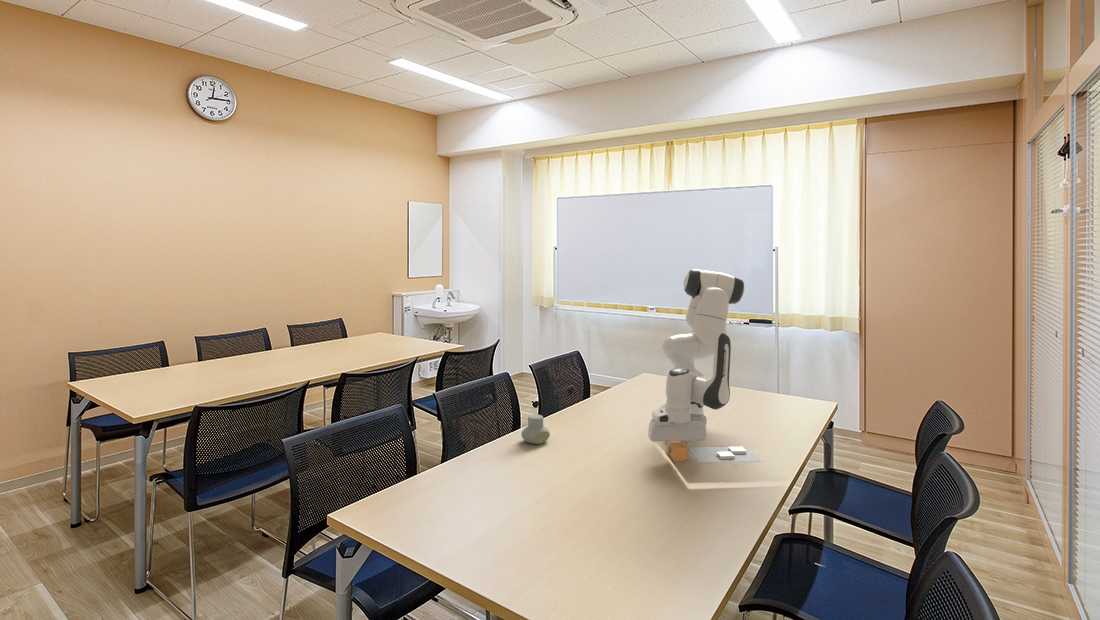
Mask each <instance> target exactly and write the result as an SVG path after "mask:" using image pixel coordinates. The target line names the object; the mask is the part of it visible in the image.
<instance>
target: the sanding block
mask: <svg viewBox="0 0 1100 620" xmlns="http://www.w3.org/2000/svg"><path fill="white" fill-rule="evenodd" d="M685 444H686V443H684V441H669V442H668V444H667V445H668V447H670V448H671V453H668V454H666V456H667V457H668V459H669V460H670V461H671V463H672V464H673V465H675V463H674V462H673V461H675V462H676V461H688V452H687V447H686V446H685ZM670 457H671V458H670ZM672 460H673V461H672Z"/></svg>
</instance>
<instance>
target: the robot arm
mask: <svg viewBox="0 0 1100 620" xmlns="http://www.w3.org/2000/svg"><path fill="white" fill-rule="evenodd" d="M683 289H684V292H685V294H686V295H688V296H689V297H691V299H690V301H689V305H688V308H687V310H686V311H687V312H686V316H685V321H686V324H687V325H688V327H690V328H691V330H692V331H691V332H690V333H682V334H673V335H671V336H668V337H665V339H664V340H663V342H662V346H661V350H662V354H663V356H664V357H665V358H666V359H667V360H668V361H669V362H670V363H671V364H672V366H673V368H672V369H670V370H669V371H668V372H667V373H668V374H667V376H666V383H665V396H666V401H665V402H664V403H663V404H661V405H660V406H659V408H658V409H655V410H653V411H652V412H651V417H652V419H650V421H649V424H648V433H647V435H648V438H649V440H650V441H651V442H654V443H655V442H662V443H663V445H664V446H665V452H666V454H669V453H671V448H670V447H668V445H667V444H668V442H669V441H682V442H685V443H684V444H685V446H686V447H687V453H688V452H689V450H688V448H690V446H691V444H692V442H695V441H696V442H697V441H698V442H699V441H701V442H702V441H705V440H706V439H707V421H708V420H707V416H706V415H705V414H704V406H705V407H708V408H710V409H712V410H715V411H716V410H719V409H721V408H723V407H724V406H726V405H727V404H728V403H729V400H730V397H731V390H730V389H731V388H730V371H731V351H732V345H731V344H732V343H731V338H730V337H729V336H728V335H727V328H726V327H727V325H726V324H727V320H728V313H729V305H733V304H737V303H739V302H740V301H741V299H742V298H743V296H744V294H745V282H744V281H743V279H742V278H741V277H738V276H735V275H734V276H732V275H731V274H727V273H723V272H719V271H716V272H715V271H713V270H712V271H711V270H702V269H700V268H699V269H698V268H693V269H692V268H691V269H690V270H689V271H688V272H687V274H686V275H685V277H684V280H683ZM712 357H713V366H712V367H713V368H712V377H711V378H710V377H705V376H704V374H703V372H702V371H700V369H698V368H696V367H695V362H694V361H695V360H706V359H709V358H712Z"/></svg>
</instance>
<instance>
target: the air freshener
mask: <svg viewBox="0 0 1100 620" xmlns="http://www.w3.org/2000/svg"><path fill="white" fill-rule="evenodd" d="M550 436H551V432H550V429H549V428H548V427H546V426H544V416H543V415H541V414H530V415H528V417H527V426H525V427H524V428H523V429H522V431H521V437H522V439H523V440H524V441H525V442H527V443H529V444H534V445H541V444H543V443H545V442H546V441H547V440H548V439H550Z"/></svg>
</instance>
